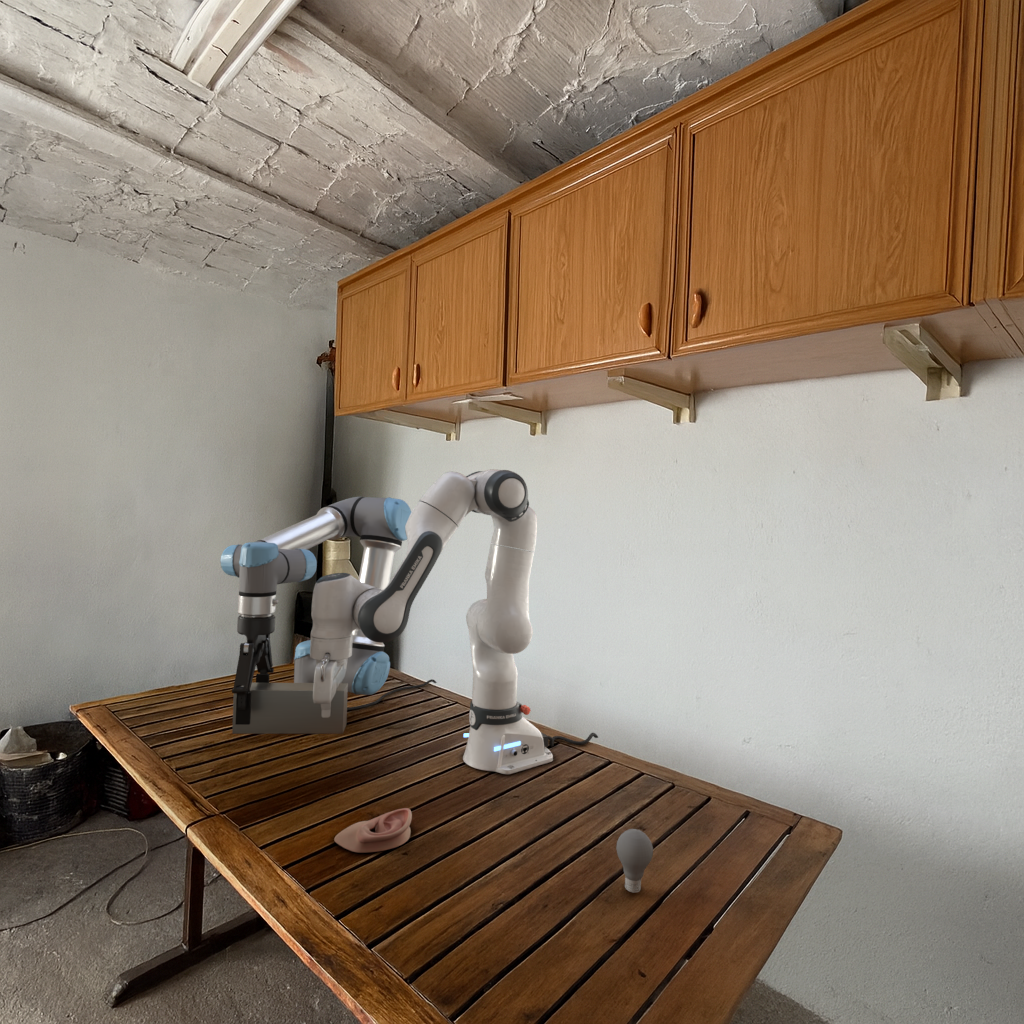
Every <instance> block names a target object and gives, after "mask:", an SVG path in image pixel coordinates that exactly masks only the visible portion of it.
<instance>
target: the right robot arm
mask: <svg viewBox="0 0 1024 1024" xmlns="http://www.w3.org/2000/svg"><path fill="white" fill-rule="evenodd" d="M471 512H473V513H476V514H482V515H484V516H485V515H487V516H490V517H491V519H492V523H493V532H492V536H491V541H490V546H489V550H488V556H487V561H486V566H485V567H486V568H485V571H484V578H485V583H486V598H482V599H478V600H476V601H474V602H473V603H472V604H470V606H469V608H468V609H467V612H466V615H465V618H466V619H465V620H466V625H467V628H468V635H469V636H468V637H469V645H470V646H469V647H470V655H471V661H472V690H471V692H472V693H471V694H472V696H471V697H472V698H471V701H470V702H469V715H468V719H469V721H468V722H469V731H468V732H467V733H463V738H467V742H466V746H465V750H464V753H463V756H462V760H463V763H465V765H467V766H469V767H471V768H474V769H477V770H480V771H487V772H495V773H499V774H502V775H513V774H515V773H518V772H522V771H525V770H529V769H532V768H535V767H539V766H541V765H546V764H548V763H552V762H553V761H554V755H553V753H552V751H551V750H550V749H549V748H548V747H550V748H552V747H554V741H558V740H559V741H562V742H566V743H569V744H571V745H575V746H584V745H587V744H588V743H590V741H591V740H592V739H593V738H595V739H598V738H599V736H598V734H597V733H595V732H591V733H590V734H588V737H587V738H586V739H584V740H581V741H579V740H574V739H570V738H568V737H565V736H563V735H562V736H561V735H555V736H551V735H548V734H545V733H544V732H543V731H540V730H539V728H537V727H536V726H535V725H534V724H533V723H531V722H530V721H529V720H528V719H526V718H525V717H524V716H523V715H525V716H528V715H530V713H531V712H532V711H531V708H530V706H528V705H526V704H523V703H521V702H520V701H518V700H517V698H518V681H519V680H518V679H519V678H518V676H519V671H518V668H517V666H516V661H515V658H514V654H519V653H521V652H523V651H524V650H526V649H527V648H528V647H529V645H530V644H531V641H532V639H533V635H534V634H533V633H534V632H533V631H534V629H533V625H532V622H531V619H530V601H529V600H530V599H529V598H530V595H529V594H530V593H529V592H530V591H529V590H530V589H529V587H530V579H531V572H532V566H533V562H534V555H535V551H536V545H537V536H538V535H537V534H538V516H537V513H536V511H535V510H534V509H533V508H532V507H530V501H529V490H528V486H527V483H526V481H525V480H524V478H523V477H522V476H521V475H520V474H519V473H517V472H515V471H512V470H508V469H495V468H492V469H486V470H478V471H474V472H472V473H470V474H468V475H464V474H463V473H460V472H457V471H451V470H449V471H446V472H444V473H443V474H441V475H440V476H439V477H437V479H436V480H435V481H434V482H432V484H431V485H430V486H429V487H428V488H427V489H426V491H425V492H424V493H423V495H422V496H421V497H420V499H418V501H417V503H416V504H415V506H414V507H413V509H412V510H411V514H410V516H409V518H408V520H407V523H406V525H405V531H406V536H407V550H406V553H405V555H404V558H403V560H402V562H401V563H400V565H399V566H398V568H397V569H396V571H395V573H394V574H393V576H391V578H390V582H389V584H388V585H387V587H386V588H385V589H384V590H382V589H380V588H377V587H373V586H370V585H367V584H365V583H363V582H361V581H359V580H358V579H357V578H356V577H354V576H353V575H352V574H350V573H347V572H334V573H330V574H325V575H324V576H321V577H319V578H318V580H316V582H315V584H314V586H313V591H312V600H311V613H310V615H311V619H312V627H311V631H310V640H311V641H310V657H311V658H313V659H316V665H317V666H316V668H315V674H314V685H313V702H314V703H315V704H321V709H322V714H321V716H322V717H323V718H328V717H330V715H331V701H332V699H333V697H334V695H335V693H336V690H337V689H338V687H339V685H340V683H341V682H342V681H343V679H344V677H345V673H346V667H347V660H348V658H349V657H351V656H352V640H353V631H354V630H355V629H361V631H362V632H363V634H364V635H365V636H366V637H367V638H368V639H370V640H372V641H374V642H379V643H383V644H384V643H389V642H391V641H392V642H393V641H394V640H396V639H397V638H399V636H401V635H402V634H403V632H404V631H405V630H406V627H407V625H408V622H409V618H410V613H411V608H412V605H413V604H414V601H415V599H416V598H417V596H418V594H419V592H420V590H421V588H422V587H423V586H424V584H425V582H426V580H427V578H428V577H429V575H430V574H431V571H432V570H433V568H434V566H435V564H436V563H437V561H438V559H439V557H440V555H441V554H442V552H443V550H444V549H445V547H446V546H447V545H448V543H449V542H450V540H451V538H452V537H453V536H454V534H455V533H456V531H457V530H458V528H459V527H460V526H461V524H462V523H463V521H464V519H465V518H466V517H467V515H468V514H469V513H471Z"/></svg>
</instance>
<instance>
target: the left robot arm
mask: <svg viewBox="0 0 1024 1024" xmlns="http://www.w3.org/2000/svg"><path fill="white" fill-rule="evenodd" d="M411 512H412V510H411V507H410V506H409V504H408V503H407V502H406V501H405V500H403V499H400V498H393V497H390V496H388V497H376V496H371V497H370V496H353V497H348V498H346V499H342V500H340V501H337V502H334V503H332V504H329V505H326V506H324V507H322V508H320V509H319V510H318V511H317V512H316V514H315V515H313V516H310V517H308V518H306V519H304V520H301V521H299V522H297V523H294V524H292V525H290V526H287V527H285V528H282V529H281V530H278V531H276V532H273V533H271V534H269V535H267V536H265V537H262V538H260V539H258V540H255V541H249V542H245V543H243V544H239V543H238V544H231V545H229V546H227V547H226V548H225V549H224V550H223V551H222V553H221V556H220V559H219V560H220V566H221V567H220V568H221V571H223V573H224V574H226V575H228V576H231V577H236V578H238V579H239V581H238V584H239V586H238V598H237V613H238V617H237V627H236V632H237V634H239V635H242V636H245V637H246V638H245V642H241V643H240V644H239V653H238V654H239V655H238V660H237V665H236V672H235V677H234V678H235V679H234V683H233V688H232V689H231V694H234V693H237V698H236V723H235V725H249V724H250V719H251V694H252V692H250V688H251V684H252V683H253V680H254V676H255V683H270V674H273V673H274V670H275V668H274V667H273V666H274V663H273V656H272V646H271V634H274V632H275V630H276V616H275V614H274V613H276V607H277V605H278V604H279V602H280V601H279V599H276V598H277V589H278V588H277V587H278V585H282V584H289V583H301V582H303V581H307V580H309V579H311V578H312V577H313V576H314V575H315V573H316V571H317V566H318V565H317V563H318V561H317V558H316V556H315V554H314V552H312V551H310V549H312V548H314V547H317V546H318V545H320V544H322V543H324V542H326V541H328V540H330V541H335V540H338V539H340V538H344V537H345V538H346V537H356V538H359V543H360V544H361V546H362V547H363V552H362V558H361V564H360V568H359V575H358V579H357V580H359V581H361V582H363V583H365V584H367V585H370V586H373V587H377V588H380V589H382V590H384V589H385V588H386V587H387V585H388V584H389V582H390V581H391V579H392V571H393V565H394V561H395V554H396V552H398V551H399V550H400V549H402V545H403V542H404V541H406V540H407V536H406V531H405V525H406V523H407V520H408V518H409V516H410V514H411ZM407 541H408V540H407ZM310 641H311V639H307V640H304V641H302V642H299V643H298V644H297V645H296V647H295V652H294V653H295V654H294V657H293V660H294V661H293V662H294V663H293V664H294V668H293V683H314V674H315V668H316V666H317V665H316V659H313V658H311V657H310ZM385 646H386V645H385V644H384V643H379V642H374V641H372V640H370V639H368V638H367V637H366V636H365V635H364V634H363V632H362V631H361V629H355V630H354V631H353V640H352V656H351V657H349V658H348V660H347V667H346V673H345V677H344V679H343V681H342V682H341V683H348V693H351V694H354V695H356V696H357V695H362V696H364V695H365V696H372V695H374V694H376V693H377V692H379V691H380V690H381V688H382V687H383V686H384V684H385V683H386V681H387V679H388V677H389V674H390V670H391V661H390V656H389V655H388V654H387V653H386V652H385ZM256 670H257V673H256V674H255V671H256ZM430 683H433V684H437V683H438V682H437V681H436V680H435V679H431V678H430V679H429V680H427V681H425V682H424V683H421V684H416V685H409V686H408V685H407V686H403V687H399V688H395V689H391V690H389V691H388V692H386V693H384V694H383V695H381V696H380V697H379V698H378V699H376V700H375V701H372V702H368V703H366V704H362V705H357V706H350V707H349V706H347V711H353V710H359V709H364V708H368V707H372V706H374V705H376V704H378V703H380V702H381V701H382V700H383V699H384V698H385V697H387V696H390V695H391V694H394V693H397V692H400V691H404V690H405V691H406V690H410V689H417V688H423V687H425V686H427V685H428V684H430ZM241 686H244V687H241Z"/></svg>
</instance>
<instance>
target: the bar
mask: <svg viewBox="0 0 1024 1024" xmlns="http://www.w3.org/2000/svg"><path fill="white" fill-rule="evenodd" d="M313 685H314V683H294V682H269V683H256V682H252V684H251V688H250V692H252V694H251V719H250V724H249V725H235V723H236V698H237V693H233V698H232V699H233V701H232V702H233V703H232V729H231V730H232V731H231V733H232V735H233V734H234V735H237V734H238V735H243V734H244V735H245V734H246V735H250V734H251V735H254V734H255V735H256V734H257V735H261V734H263V735H265V734H266V735H267V734H268V735H271V734H273V735H277V734H278V735H284V734H285V735H288V734H289V735H291V734H292V735H297V734H299V735H301V734H303V735H304V734H307V735H308V734H310V735H314V734H315V735H317V734H318V735H319V734H321V735H329V734H330V735H331V734H332V735H333V734H334V735H336V734H337V735H340V734H341V735H342V734H343V735H344V732H345V730H346V727H347V723H348V710H347V707H348V694H349V692H348V683H340V685H339V687H338V689H337V690H336V693H335V695H334V697H333V699H332V701H331V715H330V717H328V718H323V717H322V716H321V714H322V709H321V704H315V703H314V702H313ZM241 687H244V686H241Z"/></svg>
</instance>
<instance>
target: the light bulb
mask: <svg viewBox="0 0 1024 1024" xmlns="http://www.w3.org/2000/svg"><path fill="white" fill-rule="evenodd" d="M615 849H616V854H617V857H618V859H619V861H620V863H621V865H622V867H623V873H624V874H623V875H624V876H625V878H624V888H625V890H627V891H628V892H630V893H634V894H635V893H639V892H640V891H641V889H642V887H641V886H642V879H643V877H644V875H645V871H646V868H647V867H648V866H649V864H650V863H651V861H652V859H653V855H654V847H653V843H652V841H651V838H649V836H648V835H647V834H646V833H645V832H643V831H642V830H641V829H636V828H629V829H627V830H625V831H623V832H622V833H621V834H620V835H619V837H618V839H617V841H616V847H615Z"/></svg>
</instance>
